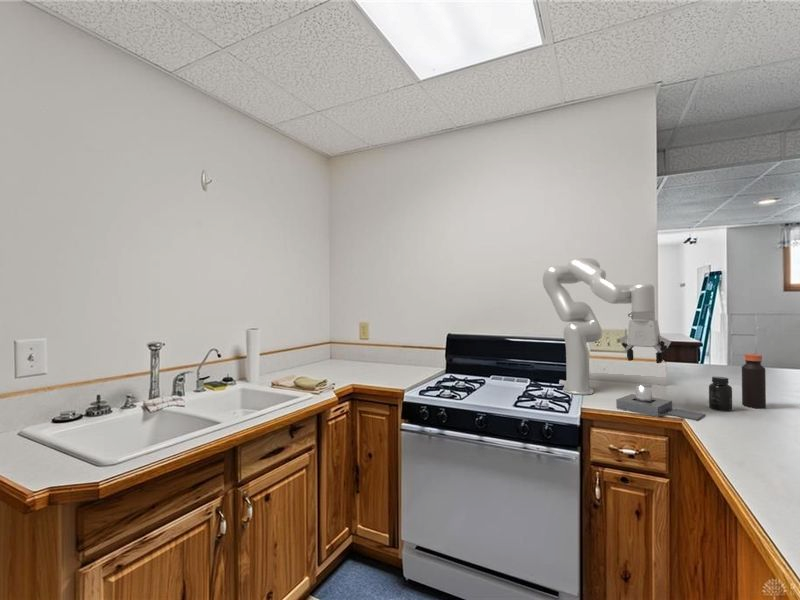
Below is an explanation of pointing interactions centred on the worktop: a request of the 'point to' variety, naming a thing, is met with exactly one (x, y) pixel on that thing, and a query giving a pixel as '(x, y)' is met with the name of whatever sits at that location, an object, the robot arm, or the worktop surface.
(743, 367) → the vinegar
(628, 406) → the block
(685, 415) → the mat
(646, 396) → the shiny grey cylinder
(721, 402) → the supplement bottle
